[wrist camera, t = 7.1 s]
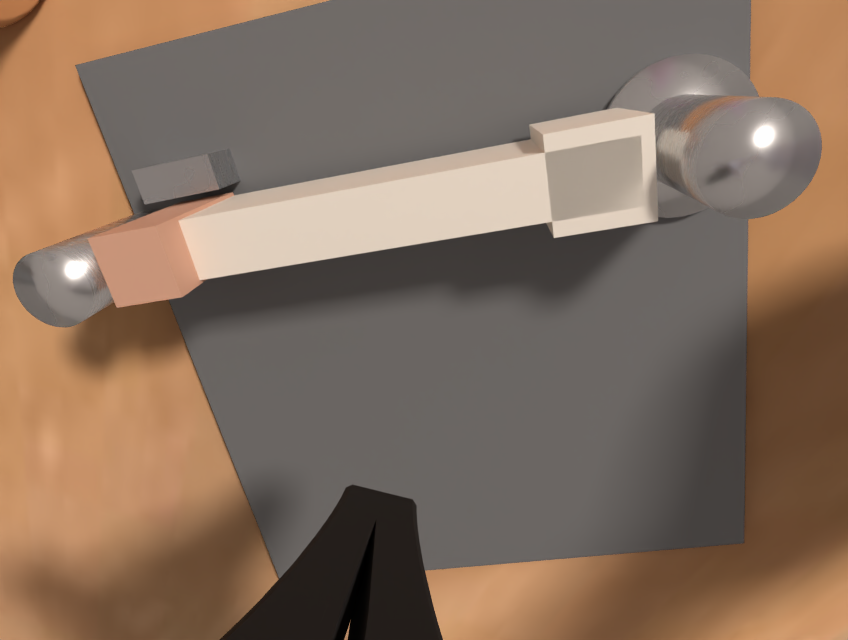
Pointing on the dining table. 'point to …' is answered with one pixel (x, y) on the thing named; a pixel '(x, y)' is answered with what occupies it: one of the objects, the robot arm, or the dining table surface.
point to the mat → (456, 283)
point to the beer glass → (15, 10)
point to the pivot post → (721, 138)
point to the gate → (395, 207)
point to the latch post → (74, 259)
